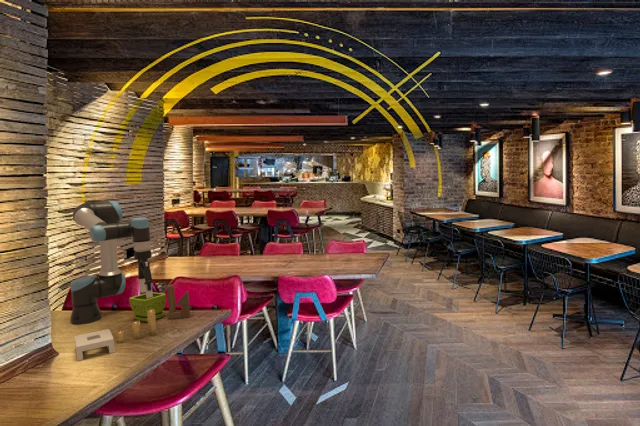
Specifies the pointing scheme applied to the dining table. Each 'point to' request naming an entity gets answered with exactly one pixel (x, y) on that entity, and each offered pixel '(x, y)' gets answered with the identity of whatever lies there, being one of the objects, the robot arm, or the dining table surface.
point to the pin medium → (136, 329)
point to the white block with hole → (94, 342)
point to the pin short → (120, 336)
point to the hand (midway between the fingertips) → (146, 294)
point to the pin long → (151, 322)
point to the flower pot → (141, 305)
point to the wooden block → (177, 304)
